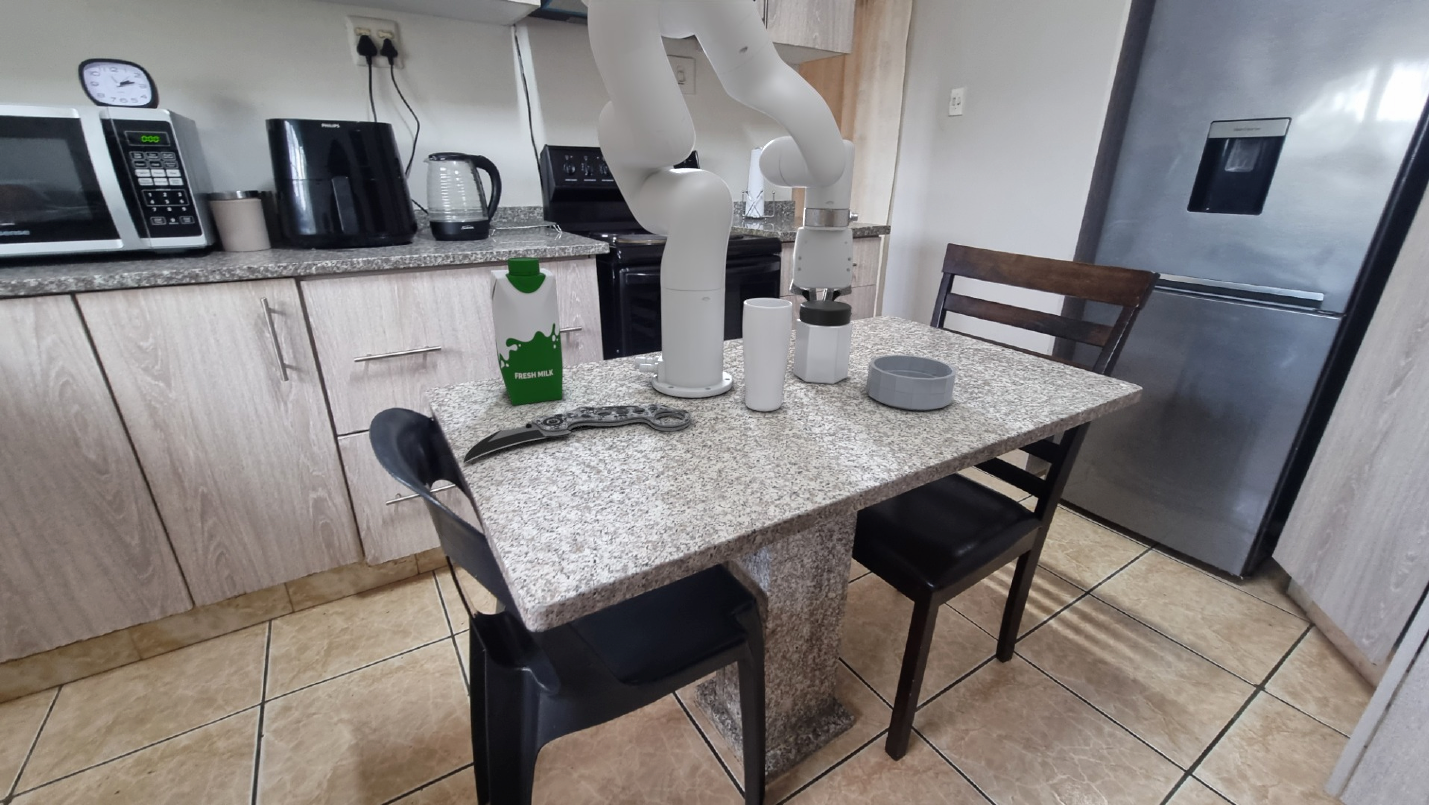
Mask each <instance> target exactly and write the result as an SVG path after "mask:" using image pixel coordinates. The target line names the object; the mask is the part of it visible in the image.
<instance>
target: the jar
mask: <svg viewBox="0 0 1429 805" xmlns="http://www.w3.org/2000/svg"><path fill="white" fill-rule="evenodd" d="M798 314H799V318H797V319H796V324H795V337H794V338H795V339H794V351H793V352H794V354H793V365H792V366H793V367H792V374H793V375H795V376H796V377H798V378H799V379H801V380H802V381H804V382H805V383H813V384H828V385H834V384H837V383H839V382H840V381H843V380H845V379H847V378H848V375H849V374H848V373H849V367H850V366H849V365H850V355H851V344H852V336H853V327H854V326H853V325H854V323H853V321H851V319H852V305H851V304H849V303H847V302H844V301H843V302H842V301H836V300H834V301H828V300H822V299H817V300H813V301H807V300H806V301H803V302H801V303H800V306H799V312H798Z"/></svg>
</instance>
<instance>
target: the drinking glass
mask: <svg viewBox="0 0 1429 805" xmlns="http://www.w3.org/2000/svg"><path fill="white" fill-rule="evenodd" d="M793 316H794V303H793V302H792V301H790V300H787V299H781V298H774V297H756V298H749V299H746V300H744V301H743V308H742V325H741V327H742V331H741V332H742V353H743V372H744V374H743V376H744V404H745V406H746V407H747V408H748V409H751V410H753V411H757V412H773V411H777V410H778V409H779V408H781V406H782V404H783V395H784V385H785V379H786V374H787V366H788V359H789V353H790V347H791V341H792V340H791V339H792V332H793V320H794V319H793V318H794V317H793Z"/></svg>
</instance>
